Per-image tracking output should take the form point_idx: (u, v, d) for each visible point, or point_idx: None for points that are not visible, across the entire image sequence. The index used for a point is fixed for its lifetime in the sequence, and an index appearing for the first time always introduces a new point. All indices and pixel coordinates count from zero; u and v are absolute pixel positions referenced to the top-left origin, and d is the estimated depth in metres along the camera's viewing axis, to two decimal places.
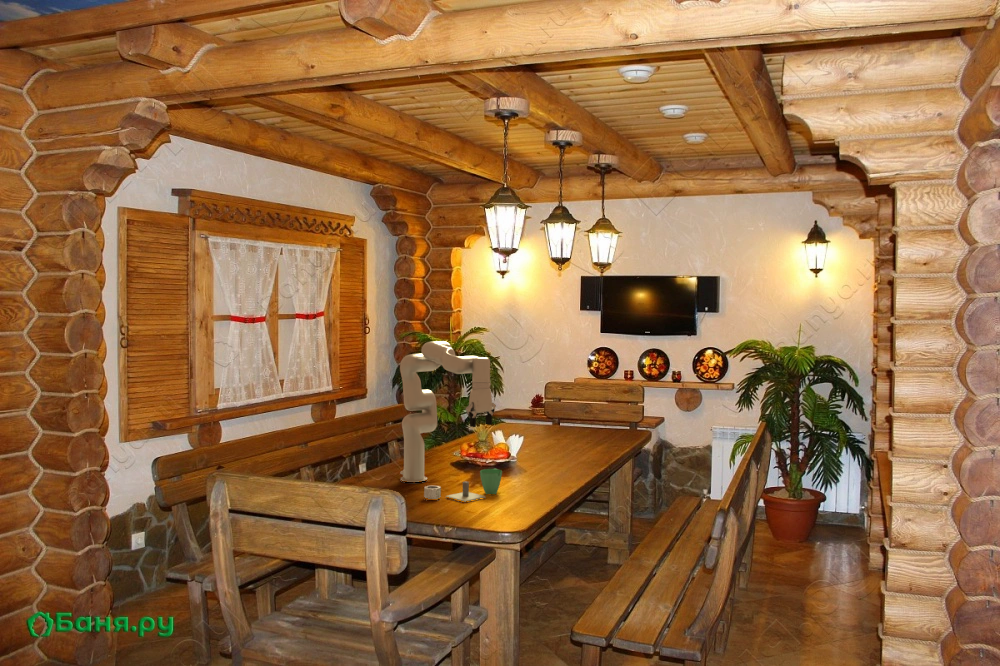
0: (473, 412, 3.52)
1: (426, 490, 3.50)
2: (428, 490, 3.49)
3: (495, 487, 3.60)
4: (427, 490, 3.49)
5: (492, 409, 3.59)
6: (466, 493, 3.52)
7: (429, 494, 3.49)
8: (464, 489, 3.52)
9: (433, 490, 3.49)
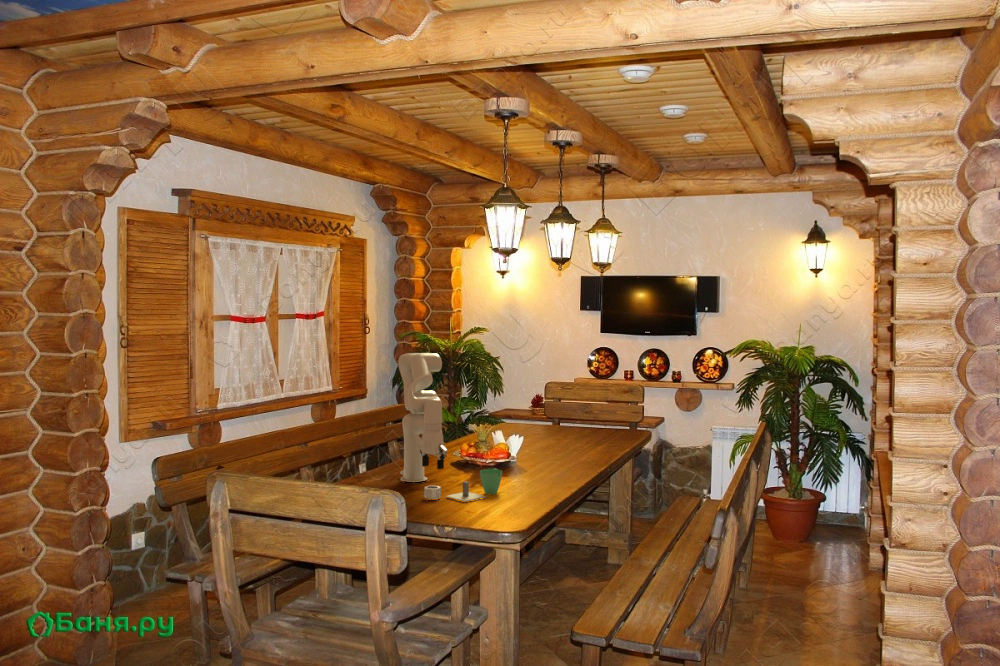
0: None
1: (426, 490, 3.50)
2: (428, 490, 3.49)
3: (495, 487, 3.60)
4: (427, 490, 3.49)
5: None
6: (466, 493, 3.52)
7: (429, 494, 3.49)
8: (464, 489, 3.52)
9: (433, 490, 3.49)
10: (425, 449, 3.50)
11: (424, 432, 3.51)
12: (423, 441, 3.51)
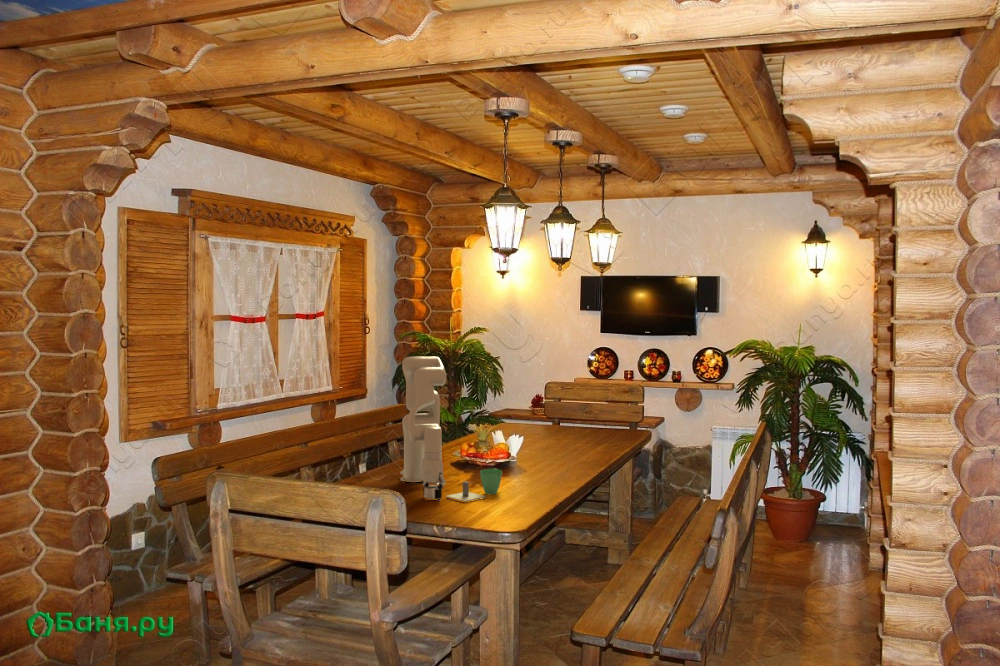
0: None
1: (426, 490, 3.50)
2: (428, 490, 3.49)
3: (495, 487, 3.60)
4: (427, 490, 3.49)
5: None
6: (466, 493, 3.52)
7: (429, 494, 3.49)
8: (464, 489, 3.52)
9: (433, 490, 3.49)
10: (425, 477, 3.51)
11: (424, 460, 3.52)
12: (423, 469, 3.52)
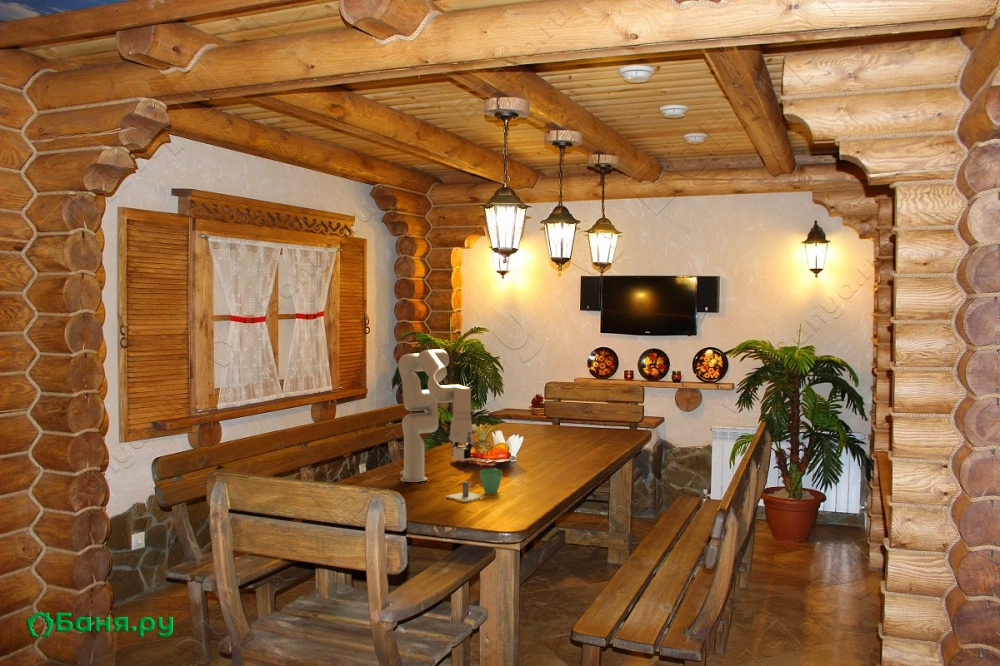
0: None
1: (455, 450, 3.50)
2: (457, 450, 3.49)
3: (495, 487, 3.60)
4: (456, 450, 3.50)
5: None
6: (466, 493, 3.52)
7: (458, 454, 3.49)
8: (464, 489, 3.52)
9: (462, 450, 3.49)
10: (454, 437, 3.52)
11: (453, 420, 3.52)
12: (452, 429, 3.53)
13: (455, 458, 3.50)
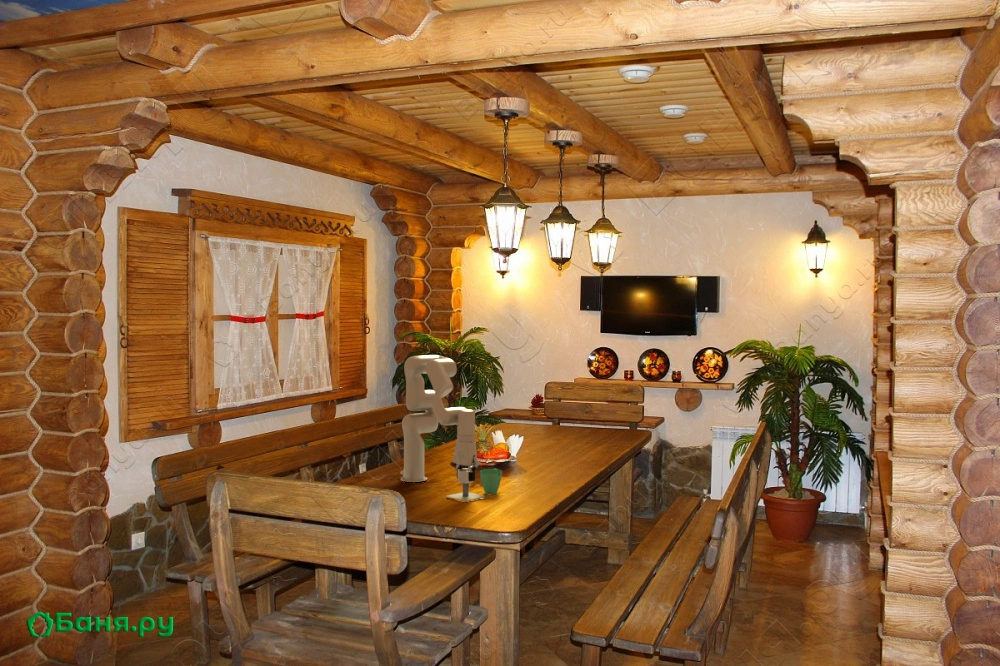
0: (470, 466, 3.50)
1: (460, 473, 3.51)
2: (462, 472, 3.50)
3: (495, 487, 3.60)
4: (460, 472, 3.50)
5: None
6: (466, 493, 3.52)
7: (463, 476, 3.50)
8: (464, 489, 3.52)
9: (467, 472, 3.50)
10: (458, 460, 3.52)
11: (457, 443, 3.53)
12: (456, 452, 3.53)
13: (459, 481, 3.51)
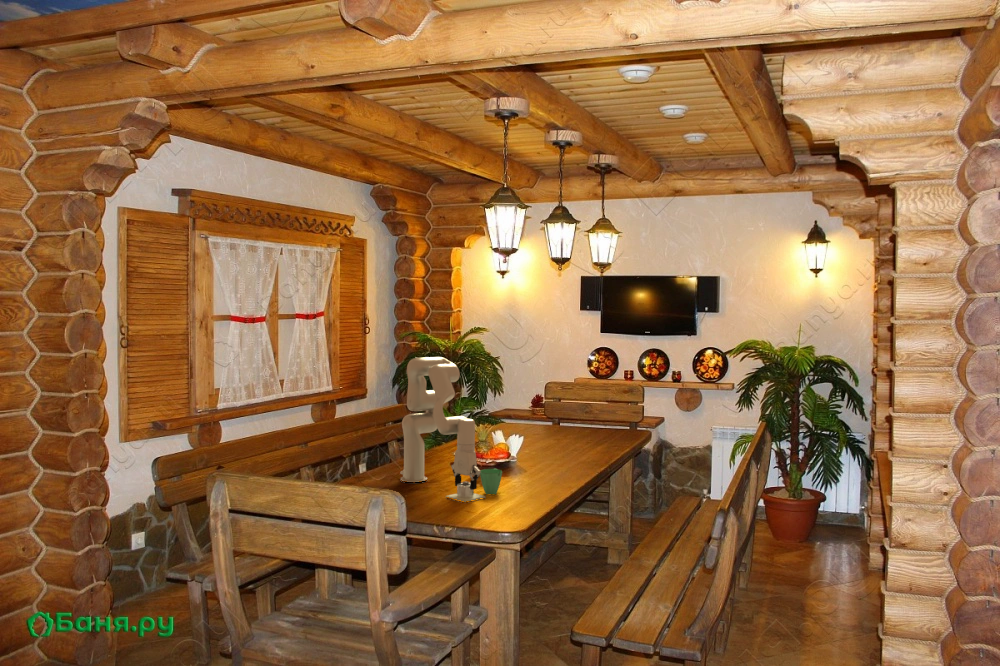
0: None
1: (459, 487, 3.51)
2: (461, 487, 3.50)
3: (495, 487, 3.60)
4: (460, 487, 3.51)
5: None
6: None
7: (462, 491, 3.50)
8: None
9: (466, 487, 3.50)
10: (458, 469, 3.52)
11: (457, 452, 3.53)
12: (456, 461, 3.53)
13: (459, 495, 3.51)
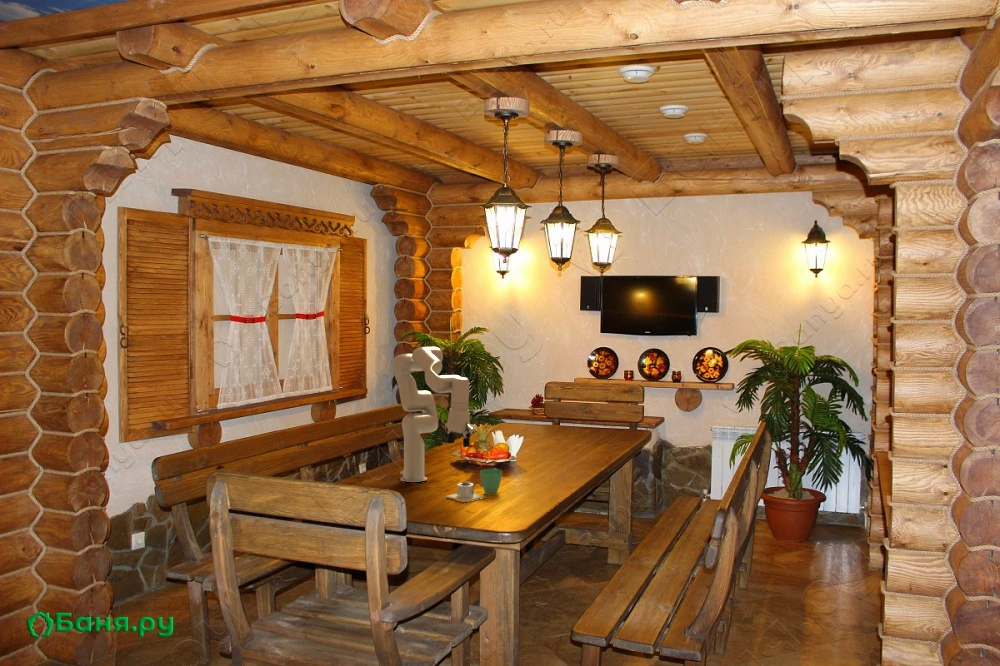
0: None
1: (459, 487, 3.51)
2: (461, 487, 3.50)
3: (495, 487, 3.60)
4: (460, 487, 3.51)
5: None
6: None
7: (462, 491, 3.50)
8: None
9: (466, 487, 3.50)
10: (451, 427, 3.57)
11: (451, 410, 3.57)
12: (450, 419, 3.58)
13: (459, 495, 3.51)
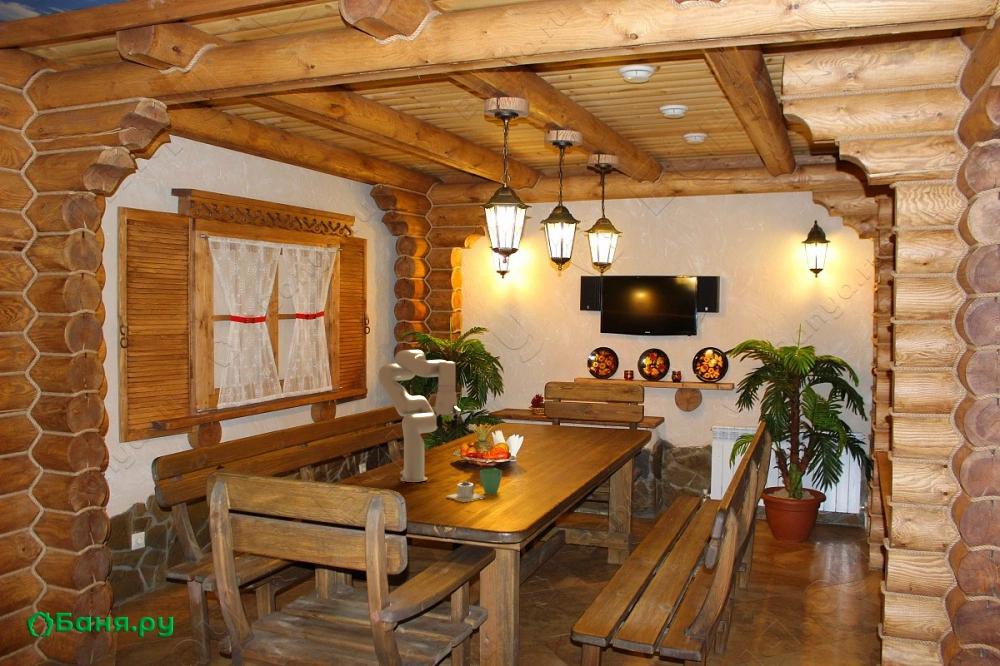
0: None
1: (459, 487, 3.51)
2: (461, 487, 3.50)
3: (495, 487, 3.60)
4: (460, 487, 3.51)
5: None
6: None
7: (462, 491, 3.50)
8: None
9: (466, 487, 3.50)
10: (439, 410, 3.66)
11: (438, 393, 3.67)
12: (437, 402, 3.67)
13: (459, 495, 3.51)
